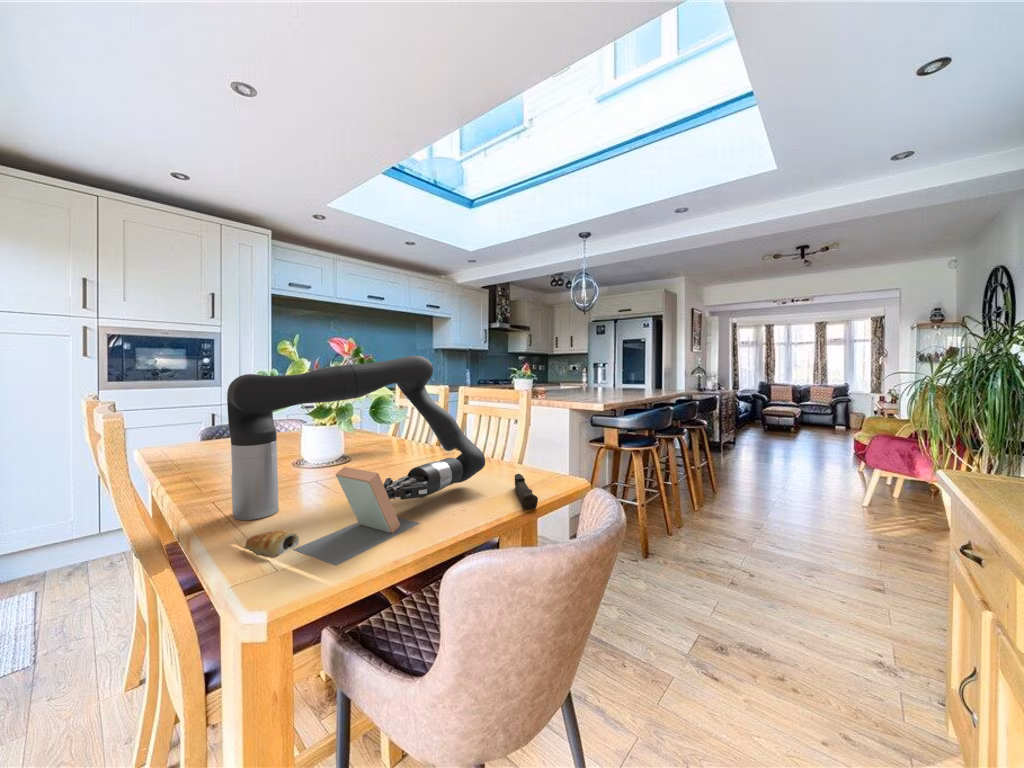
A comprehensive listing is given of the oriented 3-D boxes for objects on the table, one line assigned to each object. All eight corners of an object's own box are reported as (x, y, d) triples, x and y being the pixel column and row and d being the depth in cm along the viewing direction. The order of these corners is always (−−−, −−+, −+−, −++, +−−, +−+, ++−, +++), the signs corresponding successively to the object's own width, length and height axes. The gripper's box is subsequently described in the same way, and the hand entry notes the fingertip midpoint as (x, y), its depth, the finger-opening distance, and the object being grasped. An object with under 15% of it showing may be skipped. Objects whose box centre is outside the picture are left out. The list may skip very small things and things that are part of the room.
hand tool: (538, 510, 103) (538, 492, 102) (522, 511, 102) (522, 492, 102) (526, 487, 121) (526, 471, 121) (512, 487, 121) (512, 472, 121)
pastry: (235, 555, 78) (235, 535, 78) (263, 540, 85) (263, 522, 85) (278, 560, 76) (277, 540, 76) (303, 545, 83) (303, 526, 83)
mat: (292, 551, 79) (292, 549, 79) (380, 514, 99) (380, 512, 99) (336, 567, 73) (336, 565, 73) (420, 524, 93) (420, 523, 93)
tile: (358, 525, 92) (334, 474, 86) (367, 516, 94) (344, 466, 88) (391, 534, 87) (368, 481, 81) (400, 524, 89) (378, 473, 83)
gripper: (410, 460, 108) (355, 476, 93) (451, 466, 101) (399, 485, 86) (410, 488, 108) (356, 509, 93) (451, 497, 102) (400, 520, 87)
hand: (377, 497), depth 90 cm, fingers closed
